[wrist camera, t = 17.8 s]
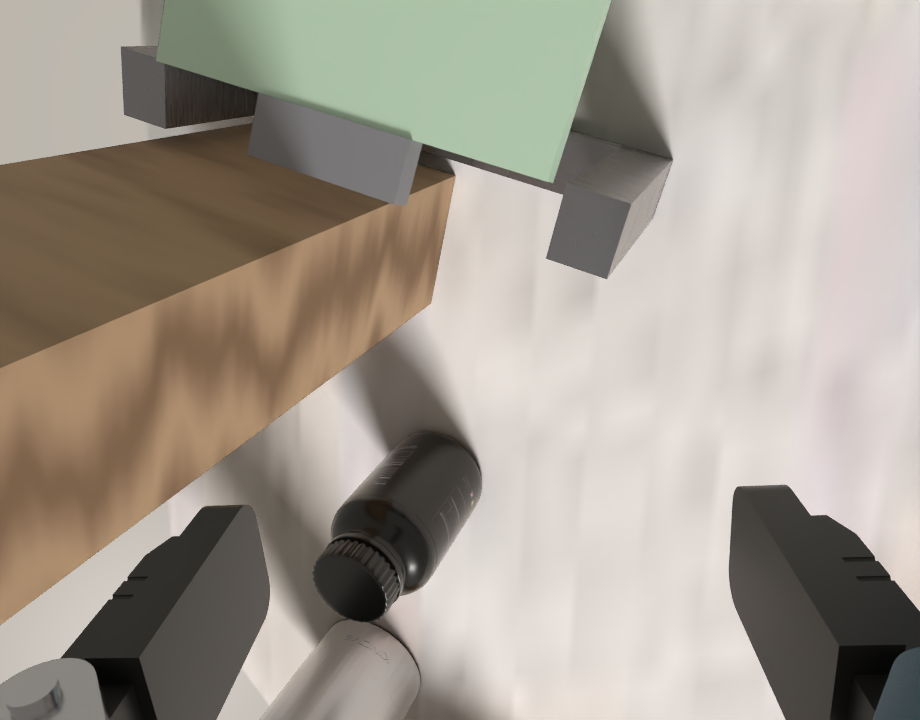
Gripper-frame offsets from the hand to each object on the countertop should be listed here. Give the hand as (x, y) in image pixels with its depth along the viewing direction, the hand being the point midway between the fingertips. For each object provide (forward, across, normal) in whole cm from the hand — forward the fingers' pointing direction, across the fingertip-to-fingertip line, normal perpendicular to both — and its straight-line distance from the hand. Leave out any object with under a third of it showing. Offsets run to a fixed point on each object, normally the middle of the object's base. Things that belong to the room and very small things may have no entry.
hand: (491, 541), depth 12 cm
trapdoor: (+20, -4, +11) cm, 23 cm away
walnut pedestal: (+32, -9, +2) cm, 34 cm away
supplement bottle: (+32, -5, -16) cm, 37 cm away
